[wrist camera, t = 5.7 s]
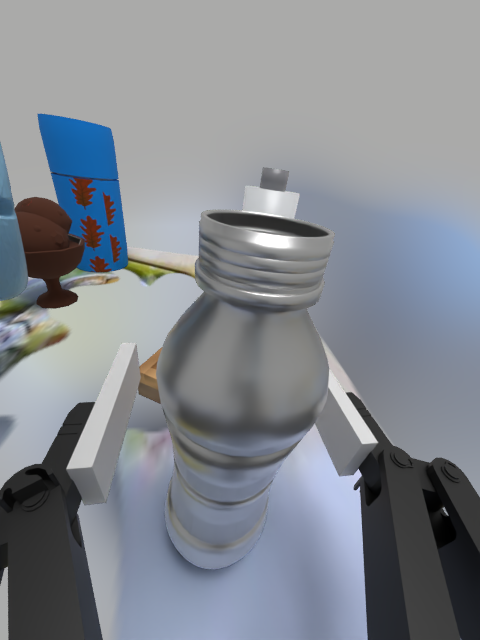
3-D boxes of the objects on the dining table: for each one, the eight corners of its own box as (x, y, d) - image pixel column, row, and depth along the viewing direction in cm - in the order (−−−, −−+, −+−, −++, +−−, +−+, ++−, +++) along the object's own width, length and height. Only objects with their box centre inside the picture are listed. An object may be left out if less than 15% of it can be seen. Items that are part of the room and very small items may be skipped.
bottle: (222, 322, 35) (239, 163, 24) (238, 305, 40) (257, 168, 30) (263, 336, 33) (299, 171, 23) (273, 316, 39) (307, 175, 28)
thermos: (84, 254, 56) (54, 121, 43) (132, 257, 59) (117, 132, 46) (65, 271, 47) (21, 109, 34) (123, 273, 50) (102, 123, 37)
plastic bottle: (172, 469, 19) (160, 194, 9) (253, 465, 20) (330, 216, 10) (157, 587, 14) (74, 235, 3) (269, 573, 15) (481, 276, 4)
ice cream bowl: (39, 284, 42) (6, 188, 34) (107, 288, 43) (90, 198, 36) (-7, 315, 33) (-67, 194, 25) (80, 319, 34) (50, 208, 27)
